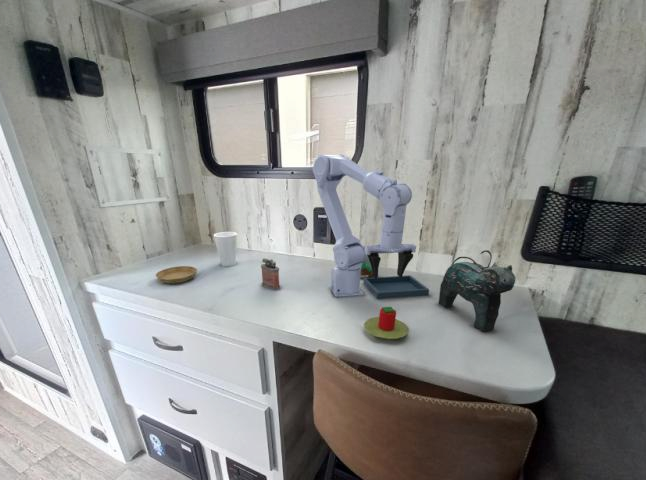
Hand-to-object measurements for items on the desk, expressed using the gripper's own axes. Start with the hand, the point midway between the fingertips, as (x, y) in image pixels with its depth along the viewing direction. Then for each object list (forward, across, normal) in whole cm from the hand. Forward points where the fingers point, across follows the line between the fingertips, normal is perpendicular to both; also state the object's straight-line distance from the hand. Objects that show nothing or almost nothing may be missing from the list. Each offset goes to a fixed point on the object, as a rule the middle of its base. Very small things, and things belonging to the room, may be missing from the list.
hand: (387, 276), depth 91 cm
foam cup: (+10, -51, +50) cm, 72 cm away
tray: (+9, +8, +11) cm, 17 cm away
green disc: (+10, -6, -16) cm, 20 cm away
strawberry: (+7, -6, -16) cm, 19 cm away
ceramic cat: (+10, +19, -11) cm, 24 cm away
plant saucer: (+10, -69, +35) cm, 78 cm away
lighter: (+10, -34, +21) cm, 41 cm away
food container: (+10, +4, +26) cm, 28 cm away
